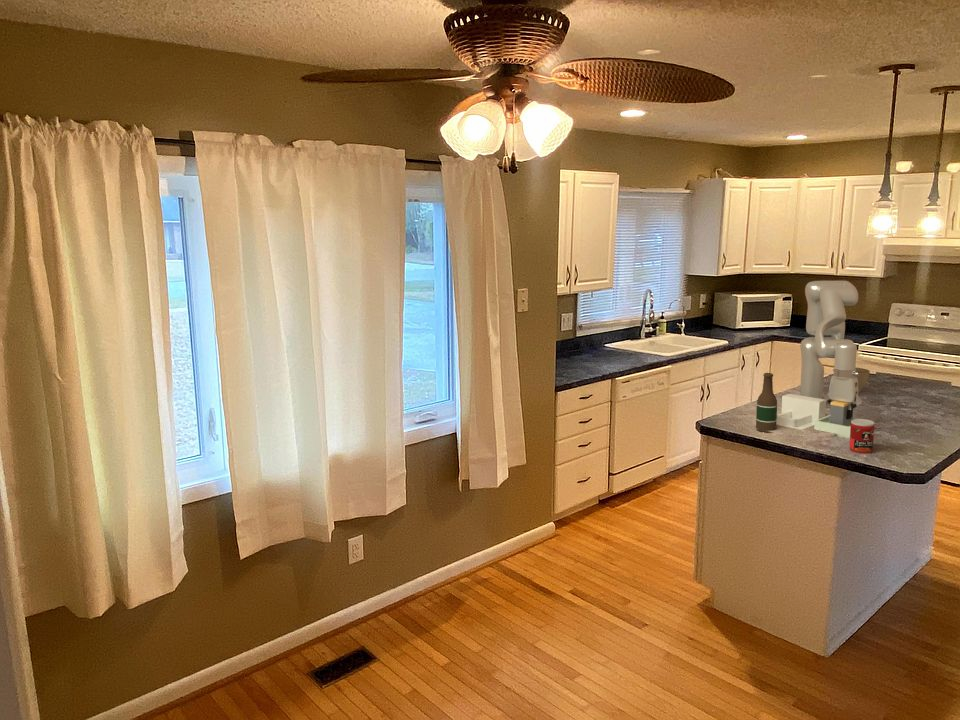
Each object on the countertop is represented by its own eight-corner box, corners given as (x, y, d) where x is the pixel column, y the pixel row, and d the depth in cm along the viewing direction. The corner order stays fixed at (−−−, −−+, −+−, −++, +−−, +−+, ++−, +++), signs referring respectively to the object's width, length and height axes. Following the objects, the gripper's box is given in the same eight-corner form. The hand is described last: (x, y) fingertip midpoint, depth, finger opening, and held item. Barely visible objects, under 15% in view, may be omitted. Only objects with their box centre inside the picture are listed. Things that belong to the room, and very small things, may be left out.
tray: (832, 424, 288) (832, 413, 287) (867, 430, 277) (868, 419, 277) (813, 431, 278) (814, 420, 277) (849, 438, 267) (850, 427, 267)
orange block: (839, 421, 282) (841, 398, 280) (852, 424, 278) (854, 400, 276) (829, 426, 277) (830, 402, 275) (842, 428, 273) (844, 404, 271)
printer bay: (788, 415, 303) (789, 393, 301) (824, 422, 290) (826, 399, 289) (764, 424, 290) (765, 401, 289) (801, 432, 278) (803, 408, 276)
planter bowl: (825, 390, 348) (826, 369, 346) (845, 386, 355) (846, 365, 354) (855, 396, 334) (856, 374, 332) (875, 391, 341) (877, 370, 340)
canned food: (853, 453, 250) (855, 424, 248) (845, 446, 258) (847, 418, 256) (876, 454, 249) (878, 424, 247) (867, 447, 256) (869, 418, 255)
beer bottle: (780, 431, 280) (783, 373, 276) (767, 434, 276) (770, 376, 272) (764, 426, 287) (766, 370, 283) (751, 430, 283) (753, 373, 279)
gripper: (871, 375, 269) (867, 419, 273) (827, 369, 282) (824, 412, 286) (862, 377, 265) (859, 423, 268) (818, 372, 278) (815, 415, 281)
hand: (841, 417), depth 277 cm, fingers closed on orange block, 4 cm apart
